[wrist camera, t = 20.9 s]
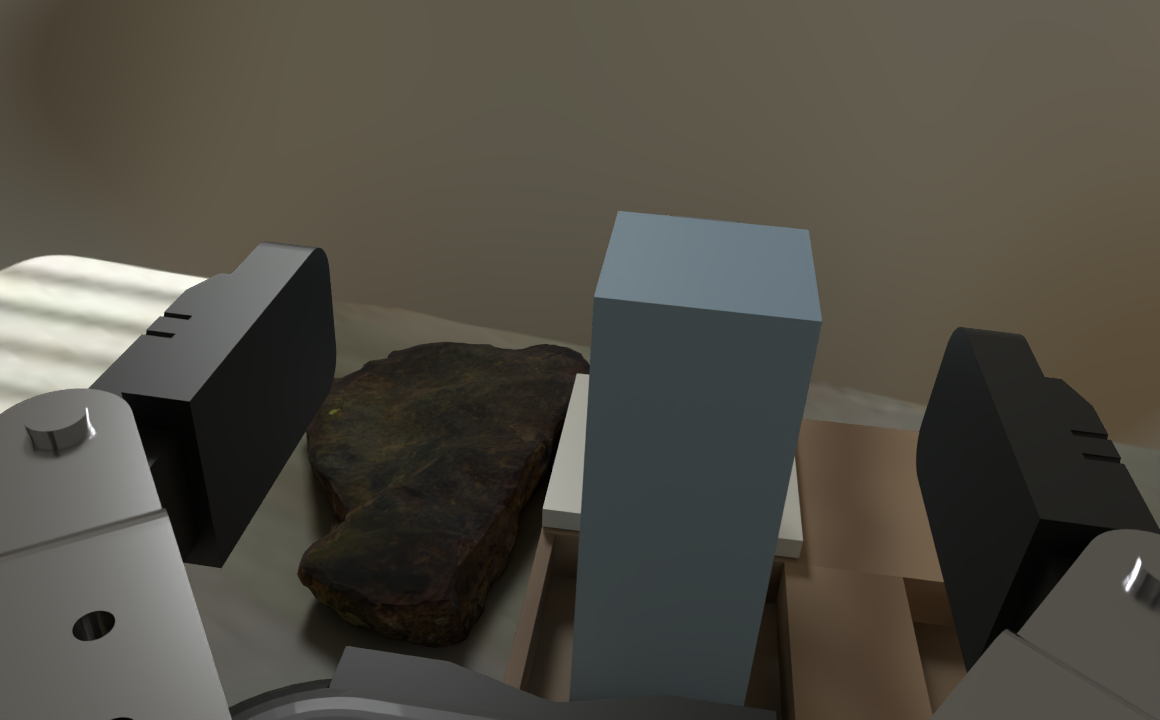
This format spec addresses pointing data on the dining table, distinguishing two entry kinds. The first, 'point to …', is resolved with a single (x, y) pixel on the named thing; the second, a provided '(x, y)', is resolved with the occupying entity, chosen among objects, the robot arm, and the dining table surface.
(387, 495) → the stone
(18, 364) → the dining table surface
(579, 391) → the lid
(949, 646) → the board
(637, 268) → the block
